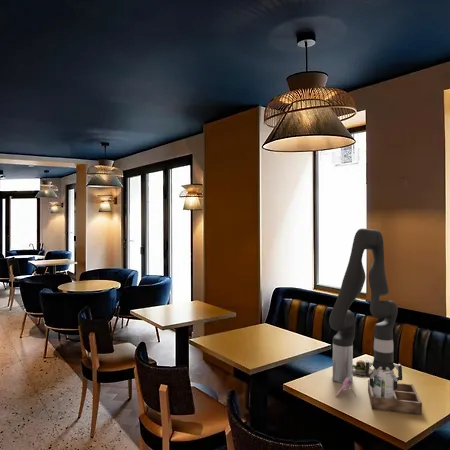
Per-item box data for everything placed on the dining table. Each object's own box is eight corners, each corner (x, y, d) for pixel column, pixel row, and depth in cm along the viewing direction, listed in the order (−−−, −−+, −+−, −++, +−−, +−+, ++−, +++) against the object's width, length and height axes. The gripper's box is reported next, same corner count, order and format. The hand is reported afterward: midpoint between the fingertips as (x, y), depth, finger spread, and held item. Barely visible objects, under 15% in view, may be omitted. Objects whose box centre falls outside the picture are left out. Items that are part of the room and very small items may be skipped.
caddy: (371, 409, 159) (371, 397, 159) (368, 390, 177) (368, 379, 177) (421, 415, 154) (421, 403, 154) (412, 395, 172) (412, 384, 172)
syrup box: (372, 401, 164) (373, 366, 164) (383, 399, 166) (384, 365, 166) (382, 407, 159) (383, 371, 159) (394, 405, 161) (394, 370, 161)
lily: (349, 389, 180) (338, 370, 181) (370, 387, 172) (358, 368, 172) (336, 406, 172) (325, 386, 173) (357, 404, 164) (345, 384, 164)
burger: (343, 372, 199) (343, 358, 198) (354, 366, 207) (354, 352, 207) (366, 379, 190) (366, 364, 190) (377, 372, 198) (377, 358, 198)
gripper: (365, 350, 161) (365, 390, 161) (403, 353, 157) (403, 394, 157) (364, 344, 168) (364, 382, 168) (400, 347, 164) (400, 386, 164)
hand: (383, 388), depth 163 cm, fingers open, 8 cm apart
